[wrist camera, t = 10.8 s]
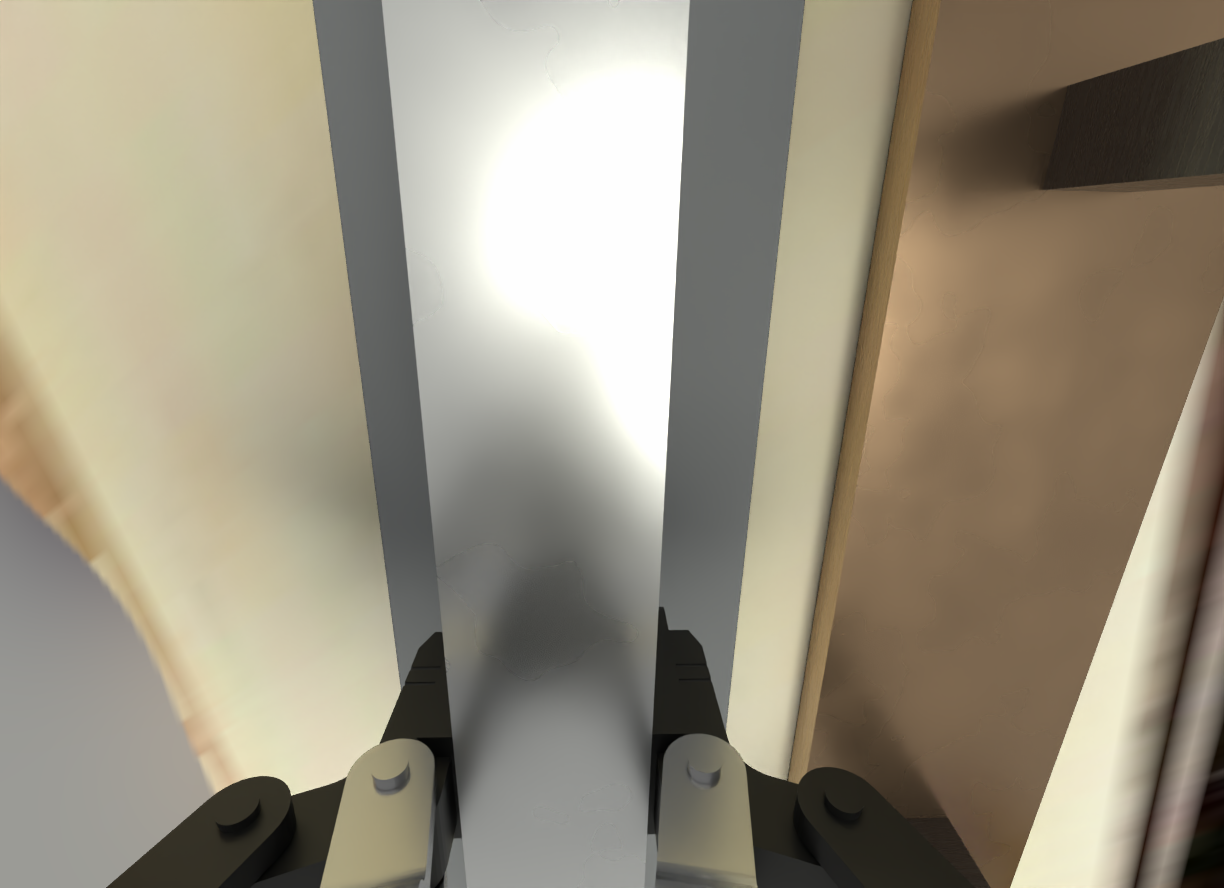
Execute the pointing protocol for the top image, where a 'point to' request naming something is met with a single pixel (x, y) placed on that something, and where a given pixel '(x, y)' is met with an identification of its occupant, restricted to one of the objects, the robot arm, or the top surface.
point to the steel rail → (544, 404)
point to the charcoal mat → (702, 324)
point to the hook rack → (1011, 395)
